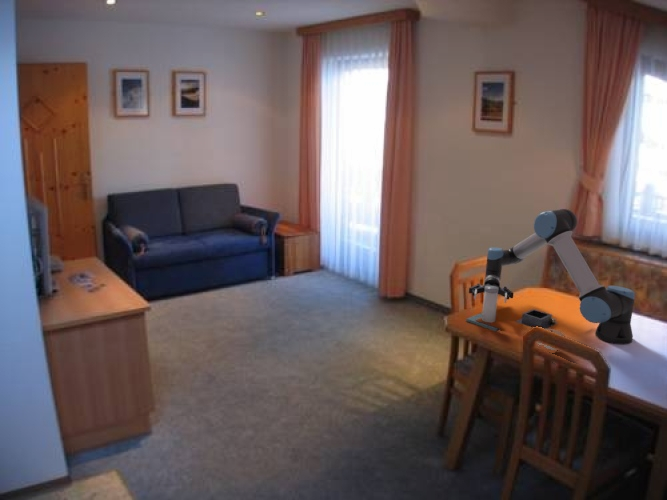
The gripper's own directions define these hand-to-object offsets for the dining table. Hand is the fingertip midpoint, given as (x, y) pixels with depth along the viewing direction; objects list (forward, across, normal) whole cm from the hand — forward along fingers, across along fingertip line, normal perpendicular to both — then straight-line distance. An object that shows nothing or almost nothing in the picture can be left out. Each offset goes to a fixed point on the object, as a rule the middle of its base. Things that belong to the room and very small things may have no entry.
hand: (490, 298), depth 290 cm
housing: (-6, -22, -13) cm, 26 cm away
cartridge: (-1, 0, -11) cm, 11 cm away
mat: (-1, 0, -13) cm, 13 cm away
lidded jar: (+22, -26, -13) cm, 36 cm away
